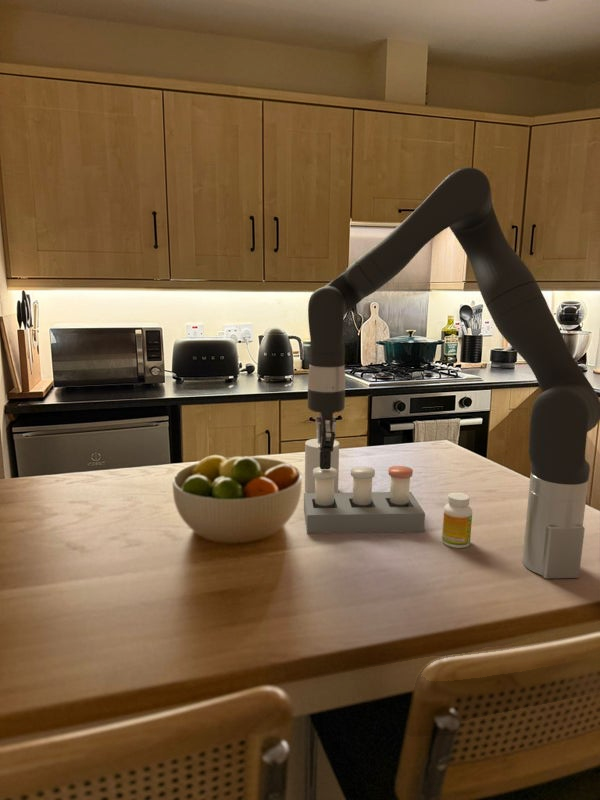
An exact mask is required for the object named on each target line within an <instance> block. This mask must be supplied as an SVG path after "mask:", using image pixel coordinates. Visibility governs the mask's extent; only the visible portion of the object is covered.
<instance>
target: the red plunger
mask: <svg viewBox="0 0 600 800" xmlns="http://www.w3.org/2000/svg"><path fill="white" fill-rule="evenodd" d="M413 472H414V471H413V469H412V468H411V467H409V466H404V465H393V466H389V468H388V476H390V483H389V484H390V485H389V488H390V489H389V492H390V502H391V503H394V504H398V505H404V504H407V503H409V492H410V487H411V483H410V482H411V477H413V474H414V473H413Z"/></svg>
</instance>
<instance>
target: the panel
mask: <svg viewBox="0 0 600 800" xmlns="http://www.w3.org/2000/svg"><path fill="white" fill-rule="evenodd" d="M303 514H304V520H305V526H306V528H305V529H306V534H308V535H309V534H313V535H314V534H358V533H359V534H360V533H363V534H364V533H365V534H367V533H368V534H369V533H373V534H374V533H419V532H421V533H425V522H426V512H425V511H424V510H423V507H421V505H420V503H419V501H418V500H417V499H416V497H415V496H414V494H413V493H412V491H409V503H407V504H404V505H398V504H394V503H391V502H390V491H378V492H377V491H376V492H375V491H374V492H373V491H372V500H371V504H368V505H357V504H355V503H353V491H352V492H337V493H334V503H333V504H332V505H328V506H322V505H318V504H316V503H315V493H306V492H304V493H303Z"/></svg>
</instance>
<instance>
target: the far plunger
mask: <svg viewBox="0 0 600 800" xmlns="http://www.w3.org/2000/svg"><path fill="white" fill-rule="evenodd" d="M313 476H314V477H315V503H316V504H318V505H322V506H328V505H332V504H333V503H334V478H335V477H336V476H337V470H336V469H335V468H332V467H331V468H330V469H321V468H320V467H317V468H315V469H313Z"/></svg>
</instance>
